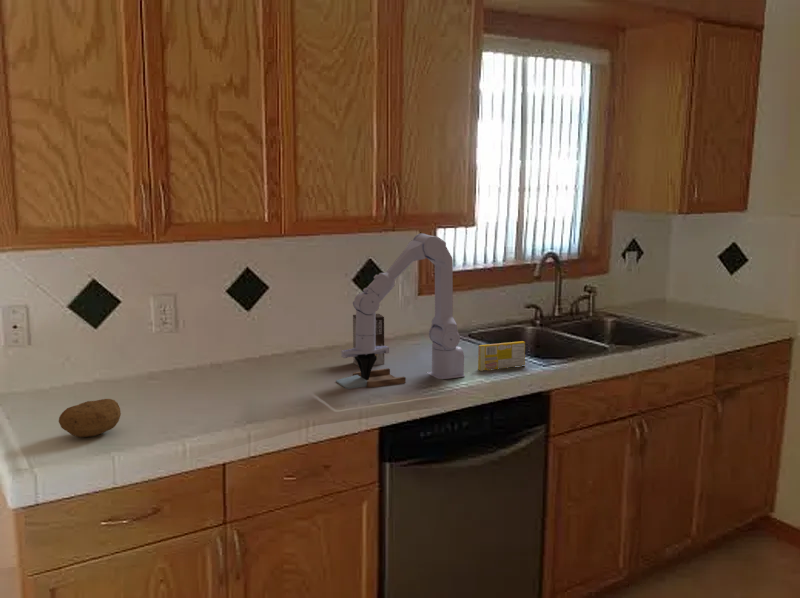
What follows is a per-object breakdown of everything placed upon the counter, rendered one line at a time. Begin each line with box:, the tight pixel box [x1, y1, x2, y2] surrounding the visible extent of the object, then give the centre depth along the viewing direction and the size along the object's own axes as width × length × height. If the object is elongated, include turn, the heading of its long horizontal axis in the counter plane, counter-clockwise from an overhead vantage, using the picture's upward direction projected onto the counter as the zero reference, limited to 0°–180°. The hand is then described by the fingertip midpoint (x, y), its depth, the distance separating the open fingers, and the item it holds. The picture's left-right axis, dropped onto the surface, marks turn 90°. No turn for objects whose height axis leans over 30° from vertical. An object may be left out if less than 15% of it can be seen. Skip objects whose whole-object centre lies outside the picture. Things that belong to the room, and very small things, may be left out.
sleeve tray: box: [352, 367, 407, 389], centre depth 231 cm, size 12×11×2 cm
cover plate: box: [335, 375, 367, 390], centre depth 227 cm, size 7×8×1 cm
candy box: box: [477, 340, 526, 372], centre depth 248 cm, size 16×2×8 cm, turn 112°
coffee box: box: [352, 313, 385, 367], centre depth 250 cm, size 9×6×16 cm
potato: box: [58, 398, 122, 438], centre depth 183 cm, size 10×14×8 cm
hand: (365, 379), depth 228 cm, fingers closed
